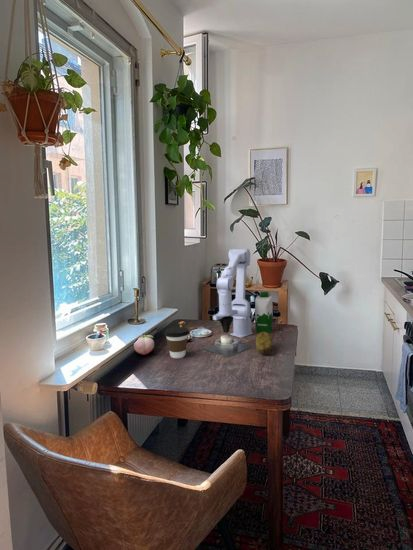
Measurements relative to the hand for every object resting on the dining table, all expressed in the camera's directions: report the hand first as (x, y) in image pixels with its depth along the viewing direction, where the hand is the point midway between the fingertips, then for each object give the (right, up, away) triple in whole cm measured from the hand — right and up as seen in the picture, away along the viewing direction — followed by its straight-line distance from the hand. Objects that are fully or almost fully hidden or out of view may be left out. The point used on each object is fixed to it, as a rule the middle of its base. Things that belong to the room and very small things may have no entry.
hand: (226, 332), depth 187 cm
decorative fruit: (-37, -10, -3) cm, 39 cm away
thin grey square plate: (0, -8, +1) cm, 8 cm away
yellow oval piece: (+17, -8, -4) cm, 19 cm away
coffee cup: (-22, -10, -6) cm, 25 cm away
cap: (0, -7, +1) cm, 7 cm away
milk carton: (+21, -3, +27) cm, 34 cm away
